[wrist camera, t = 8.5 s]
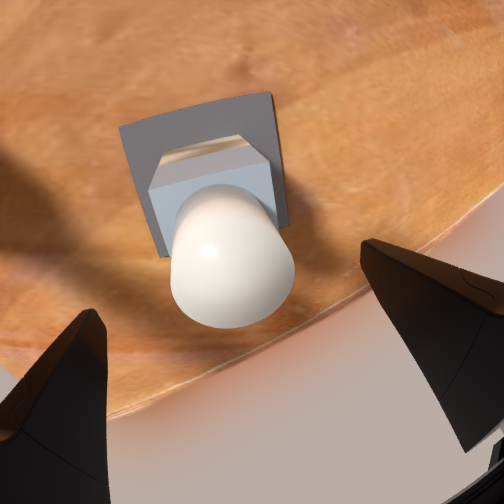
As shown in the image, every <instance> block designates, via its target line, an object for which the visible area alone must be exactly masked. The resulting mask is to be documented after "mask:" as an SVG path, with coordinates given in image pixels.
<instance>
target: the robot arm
mask: <svg viewBox="0 0 504 504" xmlns="http://www.w3.org/2000/svg"><path fill="white" fill-rule="evenodd" d="M360 265H361V268H362V270H363V272H364V274H365V276H366V278H367V280H368V282H369V283H370V285H371V287H372V289H373V291H374V293H375V295H376V297H377V299H378V301H379V303H380V304H381V306H382V308H383V309H384V311H385V312H386V314H387V315H388V317H389V318H390V320H391V321H392V323H393V325H394V326H395V328H396V329H397V331H398V333H399V334H400V336H401V337H402V339H403V341H404V342H405V344H406V346H407V347H408V349H409V351H410V352H411V354H412V356H413V357H414V359H415V361H416V362H417V364H418V366H419V367H420V369H421V371H422V373H423V374H424V376H425V378H426V379H427V381H428V383H429V385H430V387H431V388H432V390H433V392H434V394H435V396H436V397H437V399H438V401H439V403H440V405H441V407H442V409H443V411H444V413H445V415H446V416H447V418H448V420H449V422H450V424H451V426H452V428H453V430H454V432H455V434H456V436H457V438H458V440H459V442H460V444H461V446H462V448H463V450H464V452H465V453H467V452H468V451H470V450H471V449H473V448H474V447H475V446H477V445H478V444H479V443H481V442H482V441H483V440H485V439H486V438H487V437H488V436H490V435H491V434H492V433H493V432H495V431H496V430H497V429H498V428H499V427H500V429H501V430H502V432H503V434H504V283H503V282H500V281H497V280H493V279H490V278H487V277H484V276H481V275H478V274H475V273H473V272H470V271H467V270H464V269H462V268H460V269H459V268H458V267H456V266H453V265H451V264H448V263H445V262H442V261H439V260H436V259H433V258H430V257H428V256H425V255H422V254H419V253H416V252H413V251H410V250H407V249H404V248H401V247H398V246H395V245H392V244H389V243H386V242H383V241H380V240H377V239H374V238H371V239H368V240H364V241H362V243H361V253H360ZM107 379H108V360H107V330H106V327H105V325H104V323H103V321H102V320H101V318H100V317H99V315H98V313H97V312H96V310H95V309H93V308H91V309H86V310H83V311H82V312H81V313H80V314H79V315H78V316H77V317H76V318H75V319H74V320H73V321H72V322H71V323H70V324H69V325H68V327H67V328H66V329H65V330H64V331H63V332H62V333H61V334H60V335H59V336H58V337H57V339H56V340H55V341H54V342H53V343H52V344H51V345H50V346H49V347H48V349H47V350H46V351H45V352H44V353H43V354H42V355H41V356H40V358H39V359H38V360H37V361H36V362H35V363H34V365H33V366H32V367H31V368H30V369H29V370H28V372H27V373H26V374H25V375H24V377H23V378H22V379H21V380H20V381H19V382H18V384H17V385H16V386H15V387H14V388H13V390H12V391H11V392H10V393H9V394H8V396H7V397H6V398H5V399H4V400H3V401H2V402H1V403H0V504H111V501H110V491H109V486H108V485H109V481H108V466H107V439H106V407H107ZM442 504H504V437H503V438H502V439H501V440H499V441H498V442H497V443H496V444H495V445H494V446H493V451H492V455H491V460H490V464H489V468H488V471H487V472H486V473H484V474H483V475H482V476H481V477H480V478H478V479H477V480H475V481H474V482H473V483H471V484H470V485H469V486H467V487H466V488H464V489H463V490H462V491H460V492H459V493H457V494H456V495H454V496H453V497H451V498H450V499H448V500H447V501H445V502H444V503H442Z"/></svg>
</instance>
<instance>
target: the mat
mask: <svg viewBox="0 0 504 504" xmlns="http://www.w3.org/2000/svg"><path fill="white" fill-rule="evenodd" d="M119 131H120V135H121V139H122V143H123V146H124V150H125V153H126V157H127V160H128V164H129V167H130V170H131V174H132V177H133V180H134V183H135V187H136V190H137V193H138V196H139V199H140V202H141V205H142V208H143V211H144V214H145V217H146V220H147V223H148V226H149V229H150V231H151V234H152V237H153V240H154V243H155V245H156V248H157V251H158V254H159V256H160V258H161V257H165V256H169V253H168V250H167V247H166V244H165V241H164V239H163V236H162V233H161V230H160V227H159V224H158V221H157V218H156V214H155V211H154V208H153V205H152V202H151V199H150V195H149V192H148V190H149V187H150V184H151V182H152V179H153V177H154V174H155V172H156V169H157V167H158V165H159V163H160V160H161V158H162V155H163V153H164V152H167V151H171V150H174V149H178V148H182V147H186V146H190V145H194V144H198V143H202V142H206V141H211V140H215V139H220V138H224V137H229V136H234V135H240V136H241V137H242V138H244V139H245V140H246V141H247V142H248V143H249V144H250V145H251V146H252V147H253V148H255V149H256V150H257V151H258V152H259V153H260V154H261V155H262V156H263V157H265V158H266V159H267V160H268V161H269V164H270V171H271V177H272V184H273V191H274V198H275V205H276V212H277V219H278V227H279V228H282V227H286V226H289V220H288V212H287V204H286V196H285V188H284V181H283V173H282V166H281V159H280V152H279V145H278V138H277V131H276V125H275V118H274V112H273V106H272V100H271V93H270V92H264V93H257V94H251V95H245V96H239V97H234V98H229V99H223V100H218V101H214V102H209V103H204V104H200V105H196V106H191V107H187V108H183V109H179V110H175V111H172V112H168V113H164V114H161V115H157V116H154V117H150V118H147V119H143V120H140V121H137V122H134V123H131V124H128V125H125V126H122V127H119Z"/></svg>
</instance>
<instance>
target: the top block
mask: <svg viewBox="0 0 504 504" xmlns="http://www.w3.org/2000/svg"><path fill="white" fill-rule="evenodd" d="M213 184H232V185H236V186H239V187H242V188H244V189H246V190H247V191H249V192H250V193H252V194H253V195H254V196H255V197H256V198H257V199H258V201H259V202H260V203H261V205H262V207H263V208H264V210H265V212H266V213H267V215H268V216H269V218H270V220H271V221H272V223H273V225H274V226H275V228H276V230H277V231H278V233H279V227H278V219H277V212H276V205H275V198H274V191H273V184H272V177H271V171H270V164H269V161H268V160H267V159H266V158H265V157H263V156H262V155H261V154H260V153H259V152H258V151H257V150H256V149H255V148H253V147H252V146H251V145H247V146H242V147H237V148H232V149H228V150H223V151H219V152H214V153H210V154H206V155H201V156H197V157H193V158H189V159H185V160H181V161H178V162H174V163H170V164H166V165H163V166H159V167H157V169H156V172H155V174H154V177H153V179H152V182H151V184H150V187H149V190H148V192H149V195H150V199H151V202H152V205H153V208H154V211H155V214H156V218H157V221H158V224H159V227H160V230H161V233H162V236H163V239H164V241H165V244H166V247H167V250H168V253H169V256H170V259H171V261H172V246H173V232H174V222H175V217H176V214H177V211H178V210H179V208H180V206H181V205H182V203H183V202H184V201H185V200H186V199H187V197H189V196H190V195H191V194H192V193H194V192H195V191H197V190H199V189H201V188H203V187H206V186H209V185H213ZM279 235H280V234H279Z"/></svg>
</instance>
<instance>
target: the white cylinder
mask: <svg viewBox="0 0 504 504" xmlns="http://www.w3.org/2000/svg"><path fill="white" fill-rule="evenodd" d="M294 277H295V266H294V261H293V258H292V255H291V253H290V251H289V250H288V248H287V246H286V244H285V243H284V241H283V239H282V238H281V236H280V235H279V233H278V231H277V230H276V228H275V226H274V225H273V223H272V221H271V220H270V218H269V216H268V215H267V213H266V212H265V210H264V208H263V207H262V205H261V203H260V202H259V201H258V199H257V198H256V197H255V196H254V195H253V194H252V193H250V192H249V191H247V190H246V189H244V188H242V187H239V186H236V185H232V184H213V185H209V186H206V187H203V188H201V189H199V190H197V191H195V192H194V193H192V194H191V195H190V196H189V197H187V199H186V200H185V201H184V202H183V203H182V205H181V206H180V208H179V210H178V211H177V214H176V217H175V222H174V232H173V246H172V262H171V291H172V294H173V297H174V299H175V301H176V303H177V305H178V306H179V308H180V309H181V310H182V311H183V312H184V313H185V314H186V315H187V316H189V317H190V318H191V319H193V320H195V321H196V322H199V323H201V324H203V325H206V326H210V327H215V328H223V329H228V328H239V327H244V326H248V325H251V324H254V323H256V322H259V321H261V320H263V319H264V318H266V317H268V316H269V315H271V314H272V313H273V312H274V311H276V310H277V309H278V308H279V307H280V306H281V305H282V304H283V302H284V301H285V300H286V298H287V297H288V295H289V293H290V291H291V289H292V286H293V283H294Z"/></svg>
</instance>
